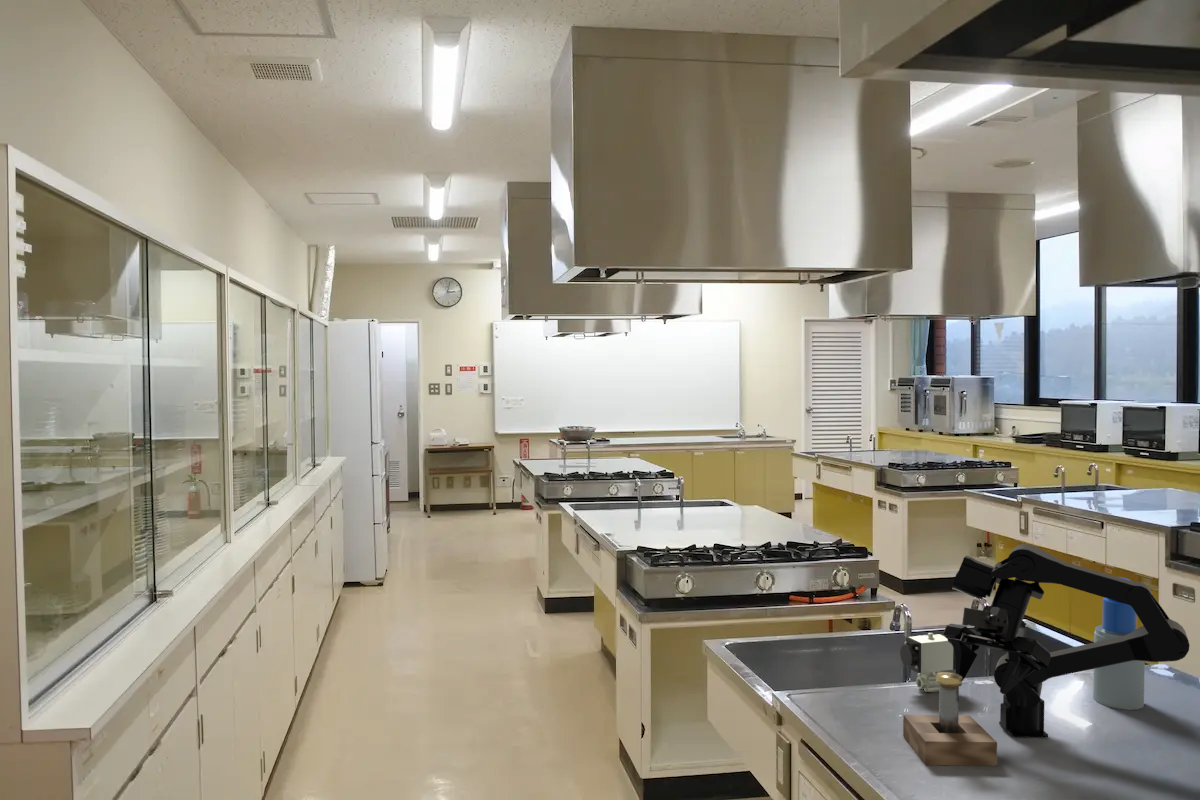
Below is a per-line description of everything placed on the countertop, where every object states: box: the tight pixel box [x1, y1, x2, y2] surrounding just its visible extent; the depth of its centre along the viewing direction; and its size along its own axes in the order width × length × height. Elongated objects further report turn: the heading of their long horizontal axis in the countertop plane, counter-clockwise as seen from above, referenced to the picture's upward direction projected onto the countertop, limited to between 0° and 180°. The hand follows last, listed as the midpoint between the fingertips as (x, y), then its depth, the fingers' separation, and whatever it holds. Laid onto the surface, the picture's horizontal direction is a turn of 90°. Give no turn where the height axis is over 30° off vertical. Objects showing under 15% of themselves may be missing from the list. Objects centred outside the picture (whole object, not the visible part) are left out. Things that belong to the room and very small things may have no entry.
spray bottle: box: [1092, 576, 1146, 711], centre depth 182 cm, size 9×9×25 cm
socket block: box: [902, 714, 998, 767], centre depth 158 cm, size 12×12×4 cm
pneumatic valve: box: [899, 632, 956, 693], centre depth 189 cm, size 6×12×12 cm, turn 105°
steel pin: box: [936, 671, 963, 733], centre depth 158 cm, size 4×4×13 cm
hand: (979, 687), depth 161 cm, fingers open, 9 cm apart
